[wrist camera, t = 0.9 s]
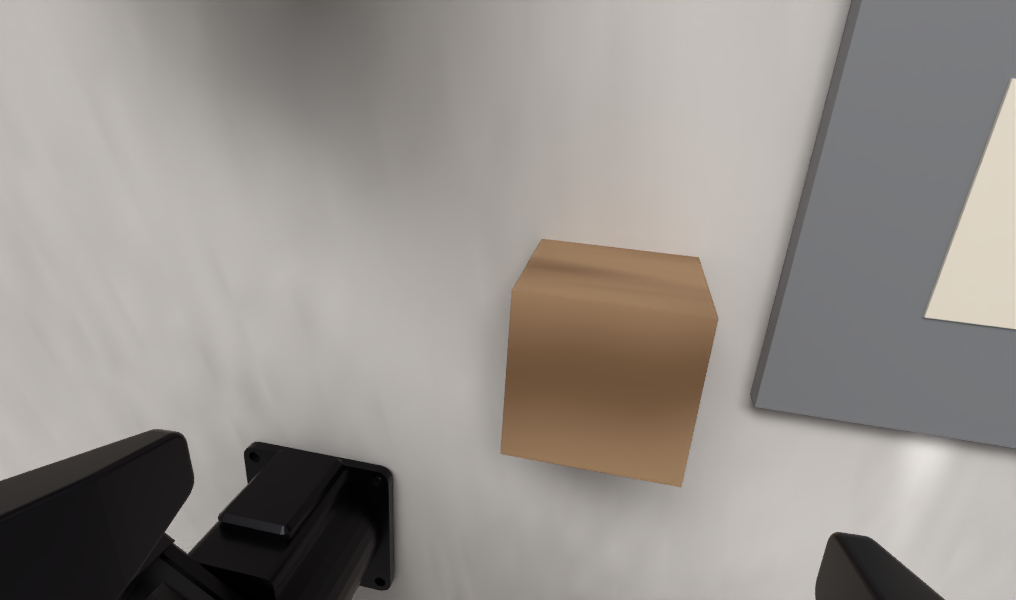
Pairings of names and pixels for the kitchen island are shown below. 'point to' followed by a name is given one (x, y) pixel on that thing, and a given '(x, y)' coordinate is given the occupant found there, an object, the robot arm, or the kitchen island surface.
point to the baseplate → (907, 231)
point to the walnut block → (607, 359)
